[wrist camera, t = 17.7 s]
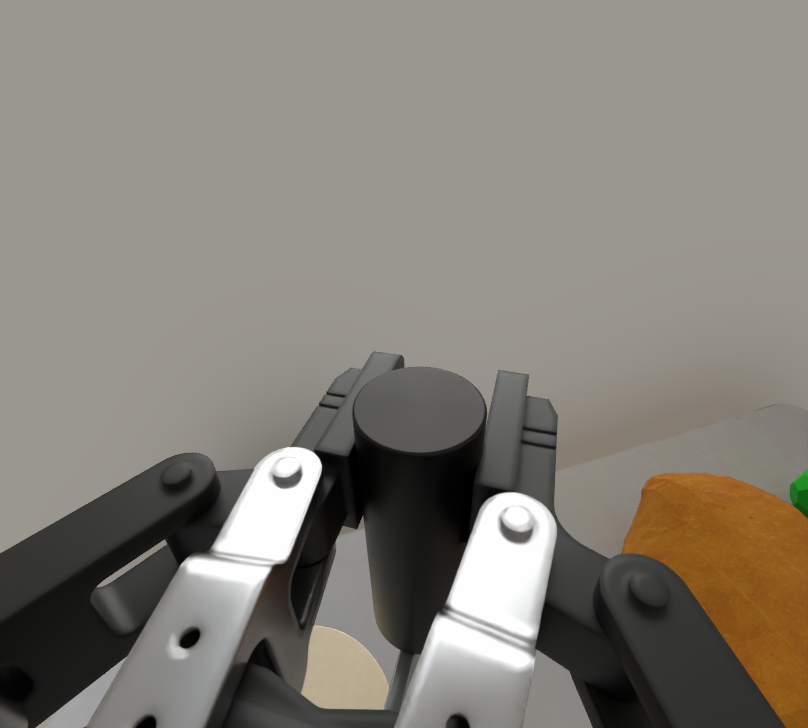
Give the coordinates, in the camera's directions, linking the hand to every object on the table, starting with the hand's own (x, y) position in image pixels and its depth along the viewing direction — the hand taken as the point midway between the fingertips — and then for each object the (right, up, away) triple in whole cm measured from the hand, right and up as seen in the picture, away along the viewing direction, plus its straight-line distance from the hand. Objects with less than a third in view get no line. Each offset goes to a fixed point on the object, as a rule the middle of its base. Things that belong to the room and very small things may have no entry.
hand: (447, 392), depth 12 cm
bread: (+21, -20, +23) cm, 37 cm away
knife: (-1, -13, +6) cm, 14 cm away
